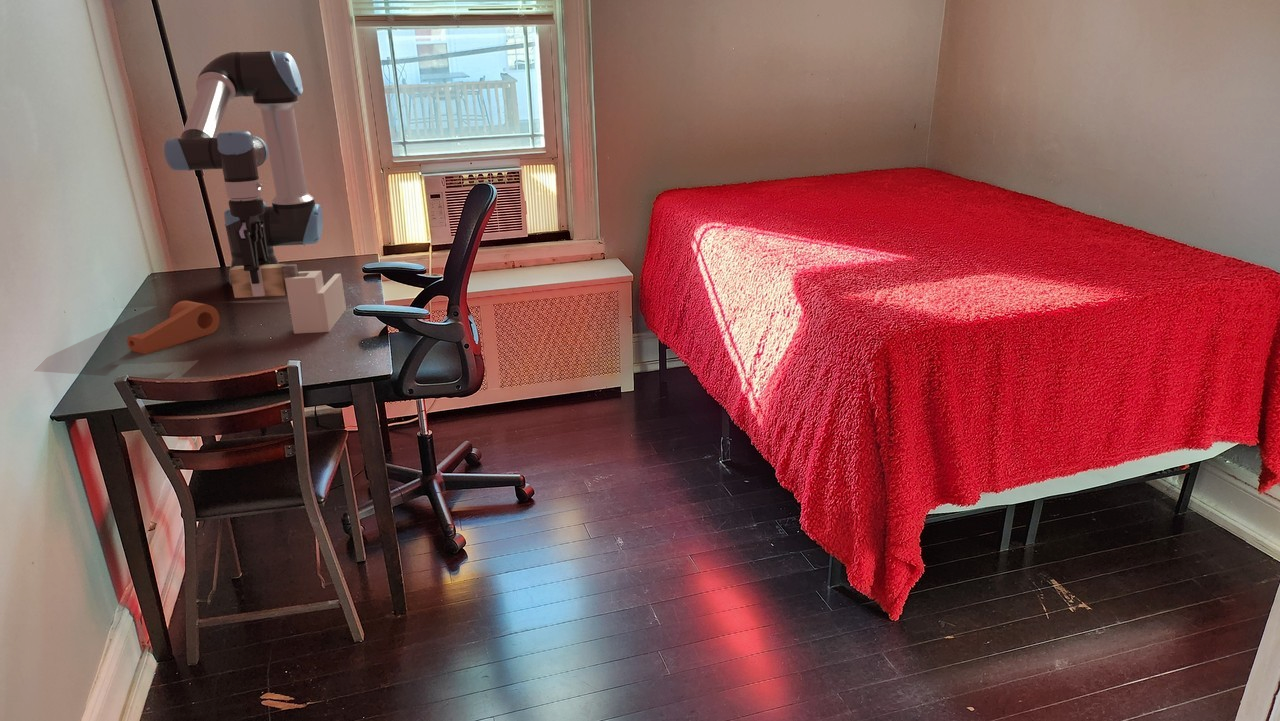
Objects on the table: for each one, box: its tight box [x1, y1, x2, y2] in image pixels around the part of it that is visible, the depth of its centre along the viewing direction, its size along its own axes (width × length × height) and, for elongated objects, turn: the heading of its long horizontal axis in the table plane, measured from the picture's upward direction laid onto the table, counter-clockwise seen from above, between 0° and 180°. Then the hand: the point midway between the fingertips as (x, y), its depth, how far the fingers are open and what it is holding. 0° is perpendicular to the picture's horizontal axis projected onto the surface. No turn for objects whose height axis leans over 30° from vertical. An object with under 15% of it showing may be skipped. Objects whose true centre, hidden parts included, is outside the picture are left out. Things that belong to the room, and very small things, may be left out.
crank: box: [126, 300, 221, 355], centre depth 204 cm, size 20×8×8 cm, turn 151°
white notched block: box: [285, 270, 347, 335], centre depth 215 cm, size 8×20×14 cm, turn 6°
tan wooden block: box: [228, 263, 299, 299], centre depth 206 cm, size 15×4×7 cm, turn 96°
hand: (262, 293), depth 207 cm, fingers closed on tan wooden block, 4 cm apart
